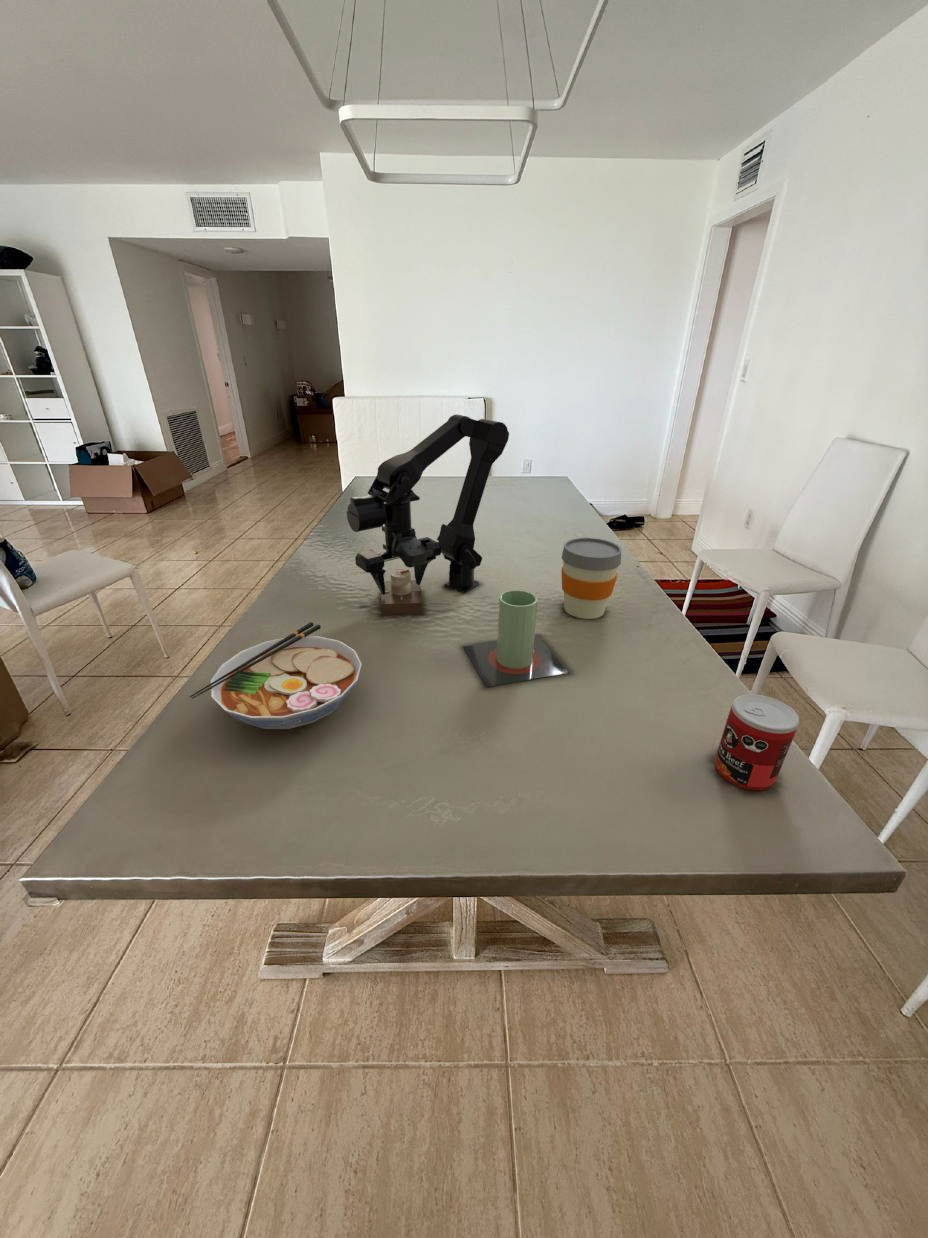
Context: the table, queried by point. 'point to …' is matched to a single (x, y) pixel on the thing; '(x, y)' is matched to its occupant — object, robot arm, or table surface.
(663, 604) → the table surface
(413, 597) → the brown flat block
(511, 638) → the tumbler
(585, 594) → the reusable coffee cup
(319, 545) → the table surface
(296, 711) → the ramen bowl
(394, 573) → the cream jar candle
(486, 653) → the hob
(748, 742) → the canned food
